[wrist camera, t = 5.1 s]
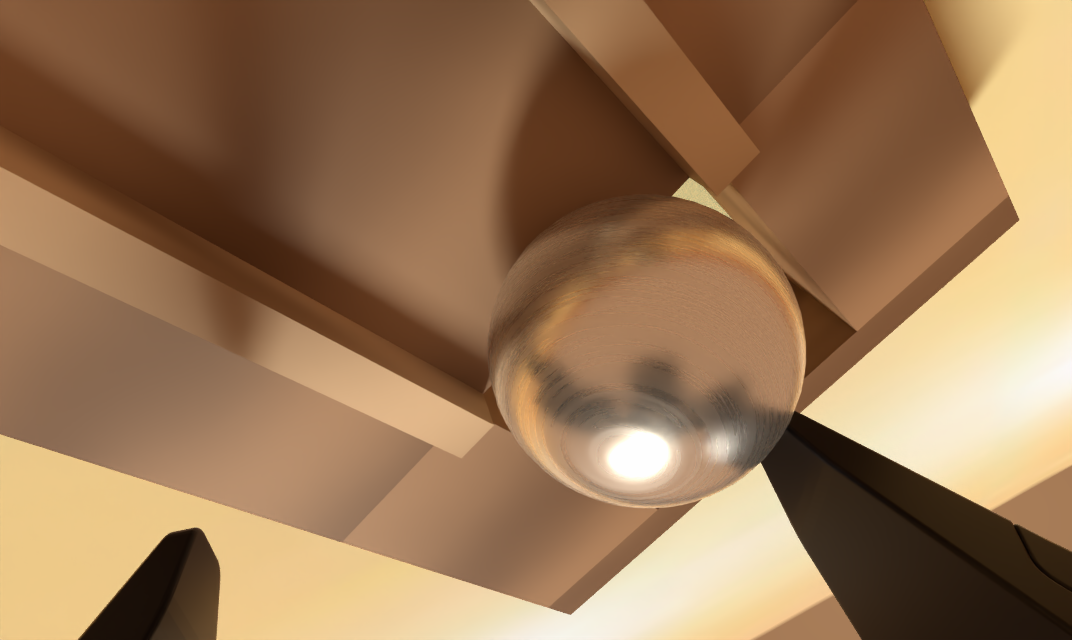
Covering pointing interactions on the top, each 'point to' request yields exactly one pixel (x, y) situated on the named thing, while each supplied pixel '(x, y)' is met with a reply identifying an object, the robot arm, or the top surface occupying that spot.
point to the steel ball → (646, 351)
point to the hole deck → (431, 234)
